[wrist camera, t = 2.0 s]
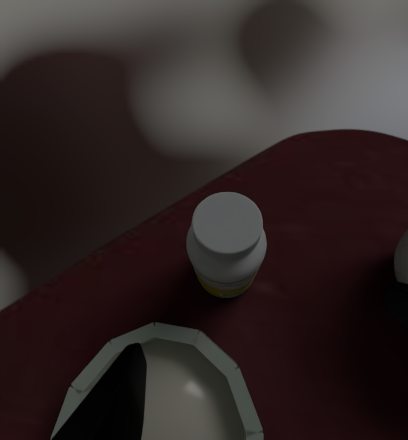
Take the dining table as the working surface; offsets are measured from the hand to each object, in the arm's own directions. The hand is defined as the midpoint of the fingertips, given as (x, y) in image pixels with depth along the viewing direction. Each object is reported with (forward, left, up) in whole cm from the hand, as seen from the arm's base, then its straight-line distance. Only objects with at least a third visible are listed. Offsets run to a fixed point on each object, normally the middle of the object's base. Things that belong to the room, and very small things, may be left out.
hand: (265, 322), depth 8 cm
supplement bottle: (+5, +2, -12) cm, 13 cm away
